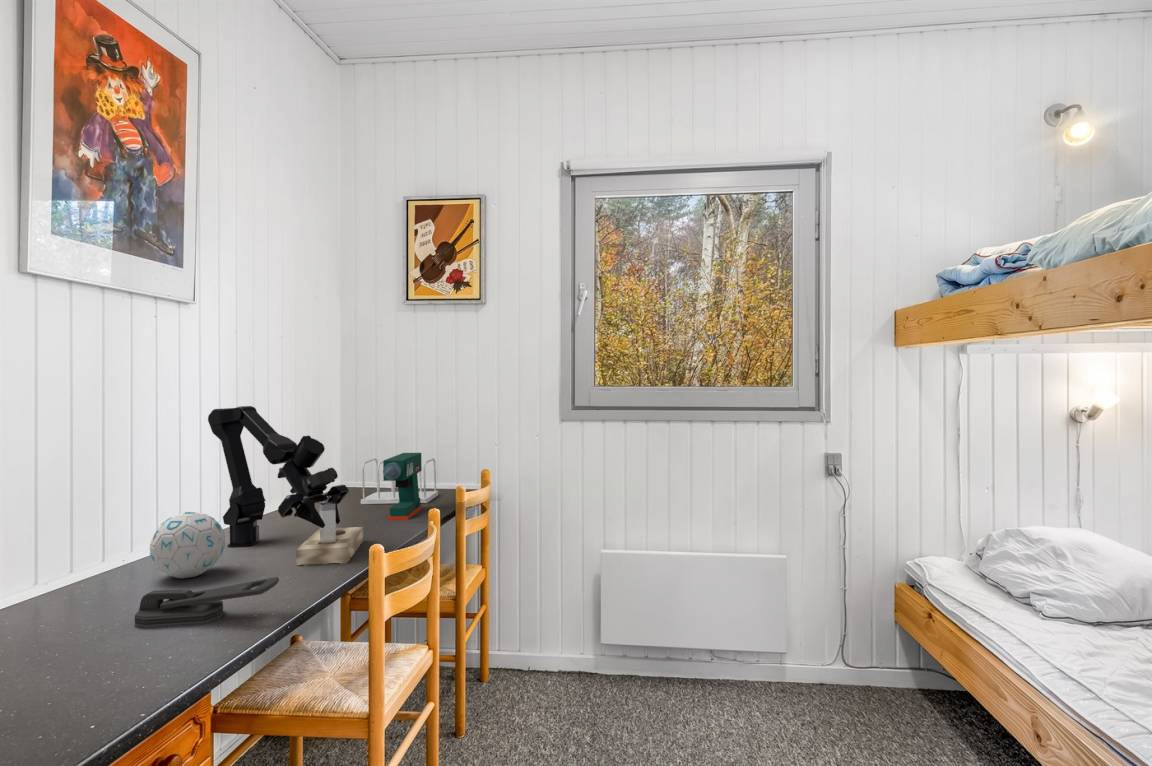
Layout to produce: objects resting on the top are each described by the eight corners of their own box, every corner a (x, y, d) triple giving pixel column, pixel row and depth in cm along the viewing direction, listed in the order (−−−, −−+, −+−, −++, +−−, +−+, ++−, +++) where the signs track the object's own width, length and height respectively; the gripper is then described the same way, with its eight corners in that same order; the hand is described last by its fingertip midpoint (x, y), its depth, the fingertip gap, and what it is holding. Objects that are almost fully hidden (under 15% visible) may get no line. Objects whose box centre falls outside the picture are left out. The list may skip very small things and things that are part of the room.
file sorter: (438, 495, 247) (438, 456, 247) (427, 504, 230) (426, 462, 230) (376, 496, 248) (375, 457, 248) (360, 505, 231) (359, 462, 230)
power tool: (396, 529, 190) (395, 464, 190) (373, 529, 190) (372, 464, 190) (423, 508, 222) (423, 452, 222) (404, 508, 222) (403, 452, 222)
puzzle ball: (212, 583, 141) (211, 517, 141) (137, 589, 137) (136, 521, 137) (234, 564, 155) (233, 504, 155) (167, 569, 152) (166, 508, 152)
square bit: (322, 554, 159) (322, 505, 159) (320, 551, 161) (319, 503, 161) (335, 552, 160) (335, 503, 160) (333, 549, 163) (332, 501, 163)
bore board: (296, 565, 153) (296, 548, 153) (318, 543, 175) (318, 528, 175) (347, 563, 155) (346, 546, 155) (363, 540, 177) (362, 526, 177)
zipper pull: (263, 589, 116) (125, 593, 115) (263, 625, 116) (126, 629, 115) (283, 574, 125) (156, 578, 124) (284, 607, 125) (156, 611, 124)
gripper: (285, 463, 154) (317, 511, 149) (343, 455, 171) (374, 498, 166) (264, 493, 158) (295, 541, 153) (323, 481, 174) (352, 524, 170)
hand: (331, 524), depth 160 cm, fingers open, 4 cm apart
